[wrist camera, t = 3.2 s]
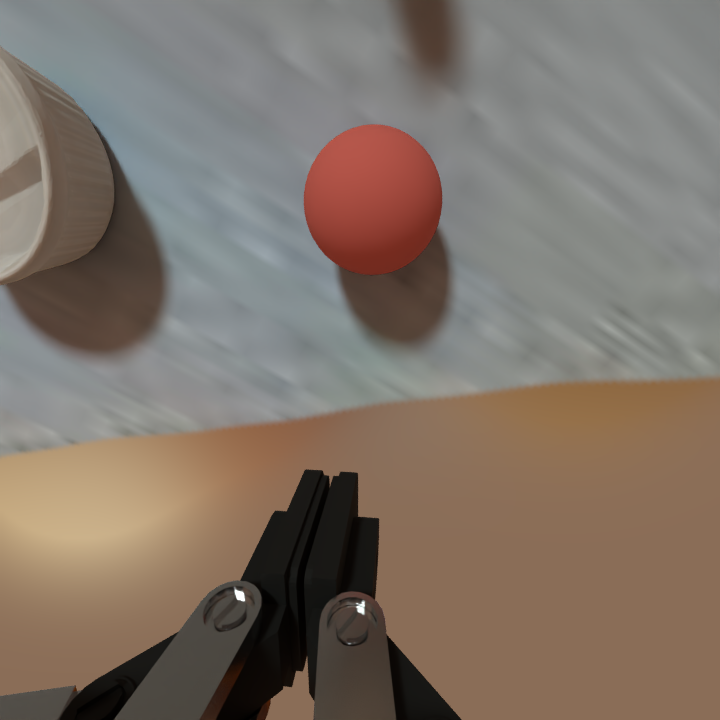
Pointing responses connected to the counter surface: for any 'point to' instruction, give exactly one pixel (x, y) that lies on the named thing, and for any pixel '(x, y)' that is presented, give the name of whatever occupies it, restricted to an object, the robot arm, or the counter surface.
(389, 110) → the counter surface
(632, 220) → the counter surface
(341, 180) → the ball
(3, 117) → the ramekin
